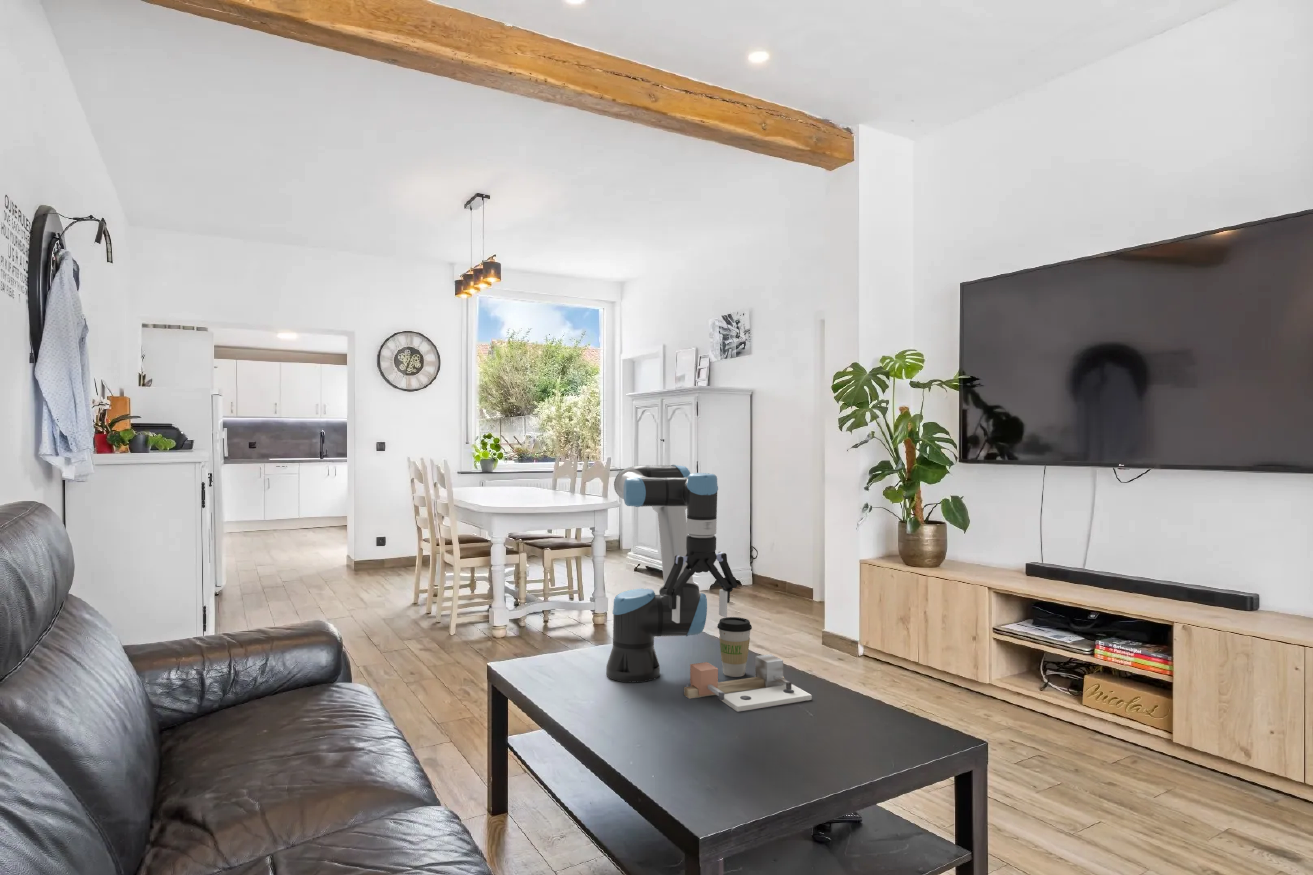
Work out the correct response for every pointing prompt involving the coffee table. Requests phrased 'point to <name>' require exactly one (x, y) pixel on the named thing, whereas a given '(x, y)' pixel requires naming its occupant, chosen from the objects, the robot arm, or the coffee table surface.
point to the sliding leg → (705, 679)
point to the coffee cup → (734, 644)
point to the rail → (766, 676)
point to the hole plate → (765, 697)
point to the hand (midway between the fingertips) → (699, 618)
